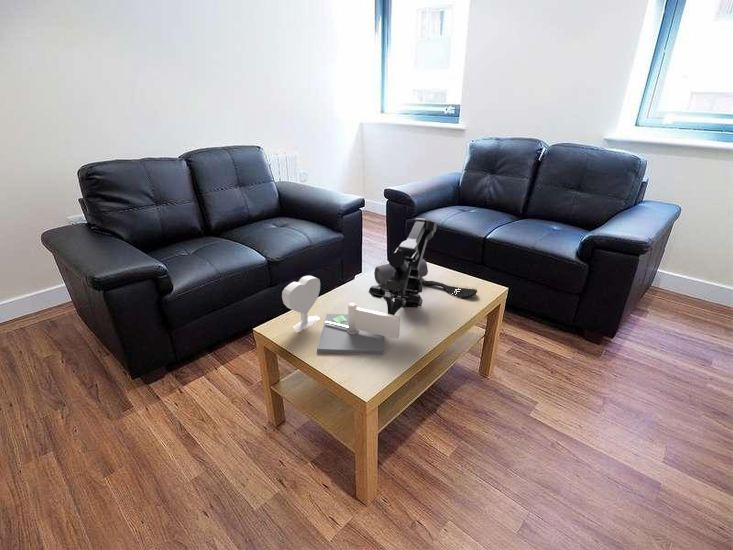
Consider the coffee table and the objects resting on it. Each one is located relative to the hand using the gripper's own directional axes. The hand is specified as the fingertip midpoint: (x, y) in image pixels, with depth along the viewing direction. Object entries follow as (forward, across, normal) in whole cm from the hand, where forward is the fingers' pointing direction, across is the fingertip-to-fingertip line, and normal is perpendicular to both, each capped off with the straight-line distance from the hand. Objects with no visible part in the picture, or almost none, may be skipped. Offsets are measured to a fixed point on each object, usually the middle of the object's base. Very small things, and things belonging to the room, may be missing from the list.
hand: (389, 319), depth 135 cm
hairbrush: (-24, +12, +34) cm, 44 cm away
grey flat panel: (+8, -12, +1) cm, 14 cm away
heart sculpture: (+9, -32, +1) cm, 33 cm away
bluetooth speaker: (-24, -9, +34) cm, 42 cm away
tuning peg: (+6, -9, 0) cm, 11 cm away
